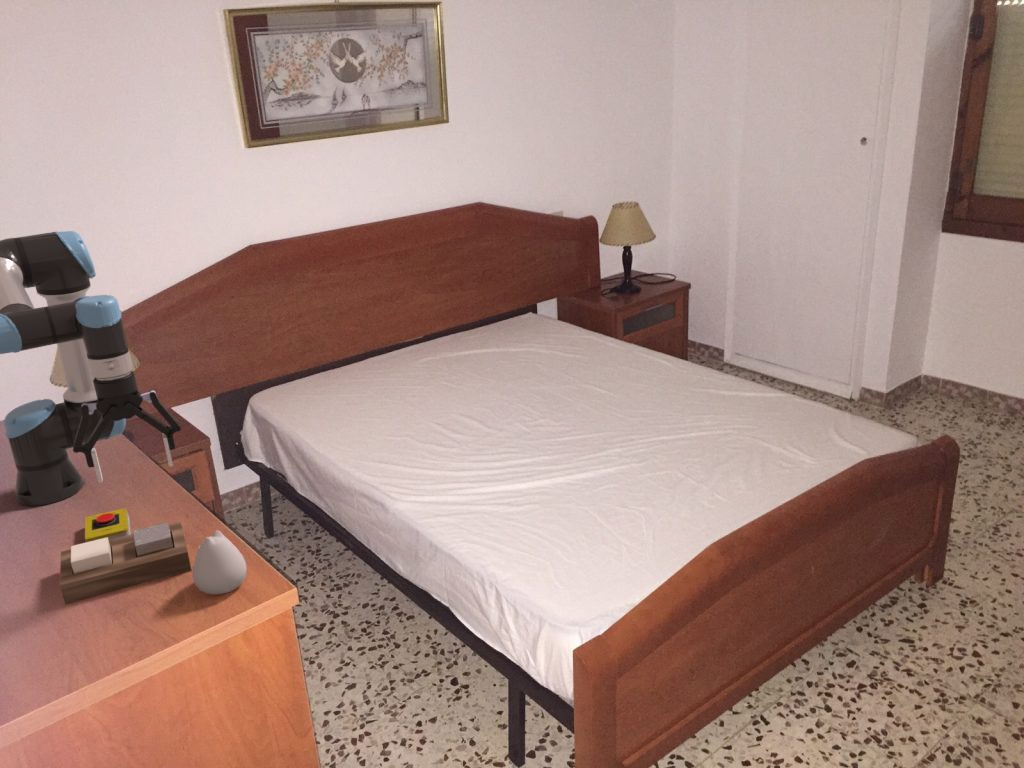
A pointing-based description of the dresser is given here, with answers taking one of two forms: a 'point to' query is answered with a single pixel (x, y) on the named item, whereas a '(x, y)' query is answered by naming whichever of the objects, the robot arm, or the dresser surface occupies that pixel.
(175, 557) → the brown wooden flat block
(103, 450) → the dresser surface
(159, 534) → the steel key
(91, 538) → the emergency button
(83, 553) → the cream key
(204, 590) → the toy character
